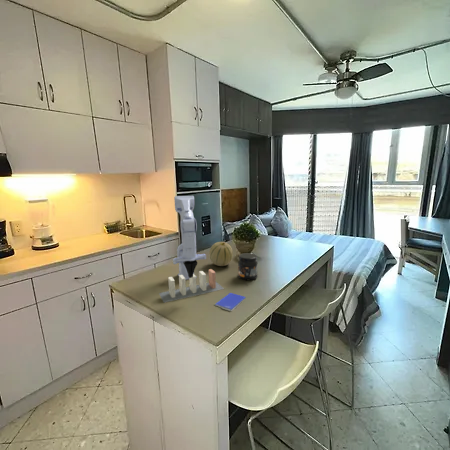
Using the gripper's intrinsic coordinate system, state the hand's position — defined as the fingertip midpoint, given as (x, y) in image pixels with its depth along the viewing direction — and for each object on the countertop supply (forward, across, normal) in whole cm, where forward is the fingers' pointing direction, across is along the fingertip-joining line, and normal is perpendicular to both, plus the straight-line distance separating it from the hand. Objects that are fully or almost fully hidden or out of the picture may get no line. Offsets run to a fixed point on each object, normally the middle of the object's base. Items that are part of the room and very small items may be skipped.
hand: (190, 276), depth 110 cm
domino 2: (+10, -2, +6) cm, 12 cm away
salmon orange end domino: (+10, +13, +7) cm, 18 cm away
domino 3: (+10, +3, +6) cm, 12 cm away
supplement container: (+11, +35, +9) cm, 38 cm away
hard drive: (+11, +14, -11) cm, 21 cm away
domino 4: (+10, +8, +6) cm, 14 cm away
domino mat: (+10, +2, +6) cm, 12 cm away
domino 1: (+10, -7, +6) cm, 14 cm away
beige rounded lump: (+11, +30, +32) cm, 45 cm away
